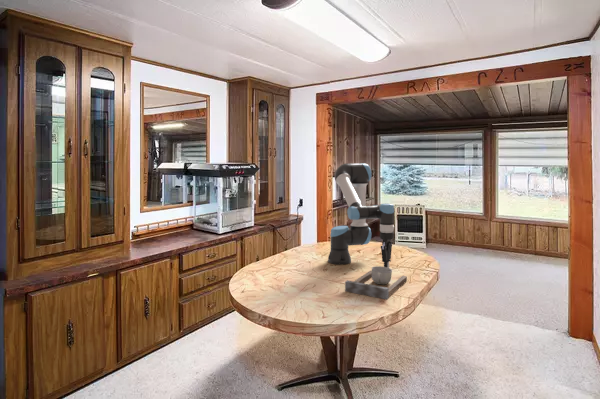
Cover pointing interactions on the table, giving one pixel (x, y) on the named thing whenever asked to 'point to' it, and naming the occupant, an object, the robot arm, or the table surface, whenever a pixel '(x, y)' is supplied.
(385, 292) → the guide track
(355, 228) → the robot arm
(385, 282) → the teacup
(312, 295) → the table surface
